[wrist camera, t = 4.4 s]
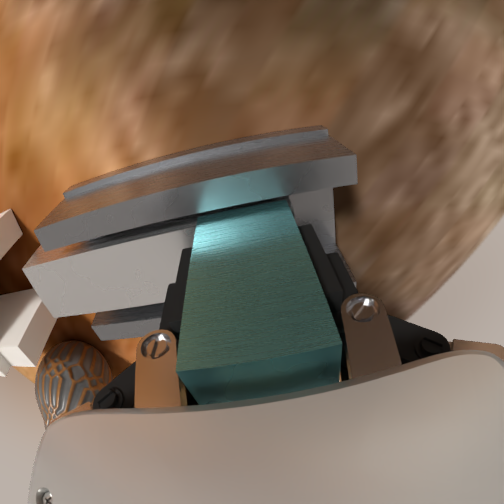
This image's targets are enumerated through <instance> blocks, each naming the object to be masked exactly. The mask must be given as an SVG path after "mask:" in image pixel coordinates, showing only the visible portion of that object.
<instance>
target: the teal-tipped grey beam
mask: <svg viewBox="0 0 504 504" xmlns="http://www.w3.org/2000/svg"><path fill="white" fill-rule="evenodd" d="M189 247H192V253H191V259H190V265H189V272H188V278H187V285H186V292H185V299H184V306H183V313H182V321H181V328H180V336H179V345H178V353H177V362H176V373H177V374H178V376H179V377H180V379H181V380H182V382H183V383H184V384H185V386H186V387H187V389H188V390H189V392H190V393H191V394H192V396H193V397H194V399H195V400H196V401H197V403H198V404H199V405H205V404H215V403H225V402H233V401H241V400H249V399H256V398H262V397H269V396H275V395H280V394H286V393H291V392H297V391H302V390H307V389H311V388H316V387H321V386H325V385H330V384H334V383H338V382H339V378H340V367H341V355H342V341H341V338H340V336H339V333H338V330H337V327H336V324H335V322H334V319H333V316H332V314H331V311H330V308H329V305H328V303H327V300H326V297H325V295H324V292H323V290H322V287H321V284H320V282H319V279H318V277H317V274H316V271H315V269H314V266H313V264H312V261H311V259H310V256H309V254H308V251H307V249H306V246H305V244H304V241H303V239H302V236H301V234H300V232H299V229H298V227H297V224H296V222H295V215H294V207H293V205H292V203H291V201H290V199H289V196H288V195H287V196H281V197H276V198H271V199H265V200H260V201H255V202H250V203H245V204H240V205H235V206H230V207H225V208H220V209H215V210H211V211H206V212H201V213H197V214H192V215H188V216H183V217H179V218H174V219H170V220H166V221H161V222H157V223H153V224H149V225H144V226H140V227H136V228H132V229H128V230H124V231H120V232H116V233H112V234H109V235H105V236H101V237H97V238H93V239H90V240H86V241H82V242H79V243H75V244H71V245H68V246H64V247H61V248H57V249H54V250H50V251H47V252H45V251H44V250H43V248H42V246H41V245H40V246H39V247H38V249H37V250H36V251H35V253H34V254H33V255H32V256H31V258H30V259H29V260H28V262H27V263H26V264H25V266H24V267H23V268H22V270H23V272H24V273H25V275H26V277H27V278H28V280H29V282H30V283H31V285H32V286H33V288H34V289H35V291H36V293H37V294H38V296H39V297H40V299H41V300H42V302H43V303H44V305H45V306H46V307H47V309H48V310H49V312H50V313H51V315H52V316H53V317H54V318H58V317H66V316H73V315H81V314H89V313H96V312H103V311H110V310H117V309H124V308H131V307H138V306H144V305H151V304H157V303H163V302H165V298H166V293H167V288H168V285H169V284H170V283H175V282H176V277H177V272H178V267H179V262H180V258H181V253H182V249H185V248H189Z"/></svg>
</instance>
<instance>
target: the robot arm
mask: <svg viewBox="0 0 504 504" xmlns="http://www.w3.org/2000/svg"><path fill="white" fill-rule="evenodd" d="M297 227H298V229H299V232H300V234H301V236H302V239H303V241H304V244H305V246H306V249H307V251H308V254H309V256H310V259H311V261H312V264H313V266H314V269H315V271H316V274H317V277H318V279H319V282H320V284H321V287H322V290H323V292H324V295H325V297H326V300H327V303H328V305H329V308H330V311H331V314H332V316H333V319H334V322H335V324H336V327H337V330H338V333H339V336H340V338H341V341H342V355H341V367H340V378H339V379H340V382H338V383H334V384H330V385H325V386H321V387H316V388H311V389H307V390H302V391H297V392H291V393H286V394H280V395H275V396H269V397H262V398H256V399H249V400H241V401H233V402H225V403H215V404H205V405H199V404H198V403H197V401H196V400H195V399H194V397H193V396H192V394H191V393H190V392H189V390H188V389H187V387H186V386H185V384H184V383H183V382H182V380H181V379H180V377H179V376H178V374H177V373H176V362H177V353H178V345H179V336H180V328H181V321H182V313H183V306H184V299H185V292H186V285H187V278H188V272H189V265H190V259H191V253H192V247H189V248H185V249H182V253H181V258H180V262H179V267H178V272H177V277H176V282H175V283H170V284H169V285H168V288H167V293H166V298H165V302H164V307H163V312H162V317H161V322H160V327H159V330H155V331H152V332H150V333H148V334H147V335H145V336H144V337H143V338H142V339H141V340H140V342H139V343H138V346H137V350H136V361H135V362H134V363H133V364H132V365H130V366H129V367H128V368H127V369H126V370H124V371H123V372H122V373H121V374H120V375H118V376H117V377H116V378H115V379H113V380H112V381H111V382H110V383H109V384H107V385H106V386H105V387H104V388H103V389H101V390H100V391H99V392H98V393H97V395H96V396H95V398H94V401H93V403H92V404H91V403H90V402H87V403H85V404H83V405H81V406H79V407H77V408H75V409H73V410H71V411H69V412H67V413H65V414H63V415H61V416H59V417H57V418H55V419H54V420H52V421H51V422H50V424H49V425H48V427H47V429H46V430H45V432H44V434H43V436H42V439H41V441H40V444H39V447H38V450H37V454H36V457H35V462H34V466H33V471H32V476H31V481H30V488H29V496H28V504H504V347H502V346H501V345H497V344H491V343H482V342H473V341H464V340H456V339H454V340H453V342H448V341H447V339H446V338H445V337H443V335H441V334H439V333H437V332H435V331H432V330H429V329H426V328H423V327H420V326H418V325H415V324H412V323H409V322H407V321H404V320H401V319H398V318H396V317H393V316H390V315H387V312H386V309H385V306H384V304H383V303H382V301H381V300H380V299H379V298H378V297H376V296H374V295H371V294H367V293H358V291H357V289H356V287H355V285H354V283H353V281H352V279H351V277H350V275H349V273H348V271H347V269H346V267H345V265H344V263H343V261H342V260H341V258H340V256H339V254H338V253H337V252H333V253H328V254H326V253H325V251H324V249H323V247H322V245H321V243H320V241H319V239H318V237H317V235H316V232H315V230H314V228H313V226H312V225H311V224H307V225H302V226H297Z"/></svg>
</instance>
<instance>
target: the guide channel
mask: <svg viewBox="0 0 504 504" xmlns="http://www.w3.org/2000/svg"><path fill="white" fill-rule="evenodd" d="M353 184H357V160H356V154H355V153H353V152H352V151H350V150H349V149H348V148H346V147H345V146H343V145H342V144H341V143H339V142H338V141H336V140H335V139H333V138H332V137H330V136H329V135H328V129H327V128H325V127H323V126H322V125H320V126H312V127H305V128H298V129H291V130H284V131H278V132H272V133H266V134H260V135H255V136H249V137H244V138H239V139H234V140H229V141H224V142H220V143H215V144H211V145H206V146H202V147H198V148H194V149H190V150H186V151H182V152H178V153H174V154H170V155H166V156H163V157H159V158H156V159H152V160H149V161H145V162H142V163H138V164H135V165H132V166H129V167H125V168H122V169H119V170H116V171H113V172H110V173H107V174H104V175H101V176H98V177H95V178H92V179H89V180H87V181H84V182H81V183H78V184H76V185H73V186H71V187H69V188H68V189H67V190H66V191H65V192H64V193H63V195H64V197H65V199H64V200H63V201H62V202H61V203H60V204H59V205H58V206H57V207H56V208H55V209H54V210H53V211H52V212H51V213H50V214H49V215H48V216H47V217H46V218H45V219H44V220H43V221H42V222H41V223H40V224H39V225H38V226H37V227H36V229H35V230H34V232H35V234H36V236H37V238H38V240H39V242H40V244H41V246H42V248H43V250H44V251H45V252H47V251H50V250H54V249H57V248H61V247H64V246H68V245H71V244H75V243H79V242H82V241H86V240H90V239H93V238H97V237H101V236H105V235H109V234H112V233H116V232H120V231H124V230H128V229H132V228H136V227H140V226H144V225H149V224H153V223H157V222H161V221H166V220H170V219H174V218H179V217H183V216H188V215H192V214H197V213H201V212H206V211H211V210H215V209H220V208H225V207H230V206H235V205H240V204H245V203H250V202H255V201H260V200H265V199H271V198H276V197H281V196H287V195H288V196H289V199H290V201H291V203H292V205H293V207H294V215H295V222H296V224H297V226H302V225H307V224H311V225H312V226H313V228H314V230H315V232H316V235H317V237H318V239H319V241H320V243H321V245H322V247H323V249H324V251H325V253H326V254H328V253H333V252H337V253H338V254H339V256H340V258H341V260H342V261H343V263H344V265H345V267H346V269H347V271H348V273H349V275H350V277H351V279H352V281H353V283H354V285H355V287H356V280H355V278H354V276H353V274H352V272H351V271H350V269H349V267H348V265H347V263H346V261H345V259H344V257H343V256H342V254H341V252H340V250H339V248H338V247H337V245H336V243H335V218H334V199H333V188H334V187H340V186H347V185H353ZM163 307H164V302H163V303H157V304H151V305H144V306H138V307H131V308H124V309H117V310H110V311H103V312H97V313H96V315H95V318H94V320H93V323H92V325H91V327H92V329H93V330H94V331H95V333H96V334H97V336H98V337H99V338H100V340H101V341H104V340H115V339H125V338H135V337H144V336H145V335H147V334H148V333H150V332H152V331H155V330H159V327H160V322H161V317H162V312H163Z"/></svg>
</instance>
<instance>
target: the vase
mask: <svg viewBox="0 0 504 504" xmlns="http://www.w3.org/2000/svg"><path fill="white" fill-rule="evenodd" d="M112 380H113V376H112V372H111V369H110V367H109V364H108V363H107V361H106V359H105V358H104V357H103V355H102V354H101V353H100V352H99V351H98V350H97V349H96V348H94V347H93V346H91V345H89V344H87V343H84V342H81V341H76V340H72V341H65V342H62V343H59V344H57V345H55V346H54V347H52V348H51V349H50V350H49V351H48V352H47V353H46V355H45V356H44V357H43V359H42V361H41V363H40V365H39V367H38V370H37V374H36V379H35V394H36V400H37V403H38V406H39V409H40V411H41V414H42V417H43V420H44V424H45V430H46V429H47V427H48V425H49V424H50V422H51V421H52V420H54V419H55V418H57V417H59V416H61V415H63V414H65V413H67V412H69V411H71V410H73V409H75V408H77V407H79V406H81V405H83V404H85V403H87V402H90V403H91V404H92V403H93V401H94V398H95V396H96V395H97V393H98V392H99V391H100V390H101V389H103V388H104V387H105V386H106V385H107V384H109V383H110V382H111V381H112Z"/></svg>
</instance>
